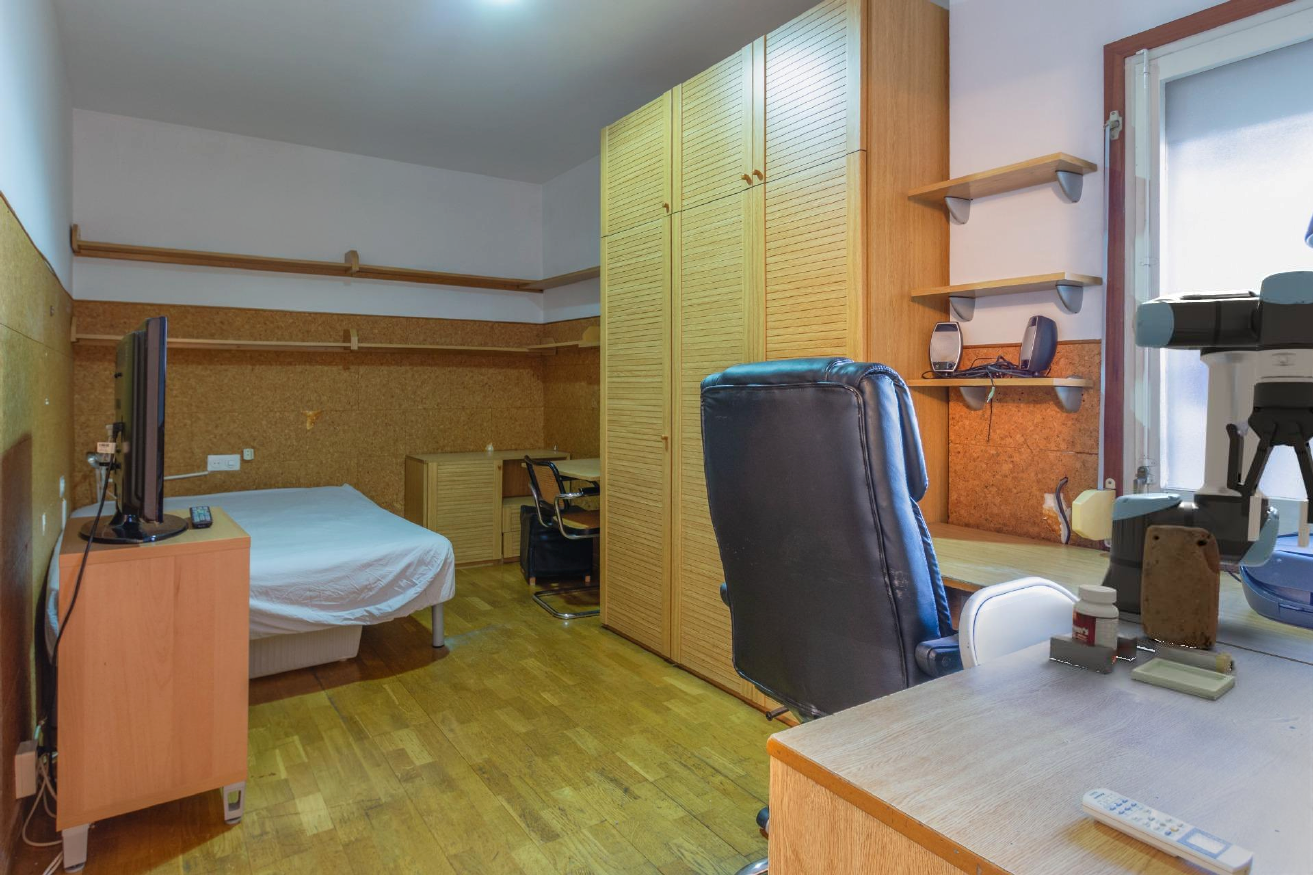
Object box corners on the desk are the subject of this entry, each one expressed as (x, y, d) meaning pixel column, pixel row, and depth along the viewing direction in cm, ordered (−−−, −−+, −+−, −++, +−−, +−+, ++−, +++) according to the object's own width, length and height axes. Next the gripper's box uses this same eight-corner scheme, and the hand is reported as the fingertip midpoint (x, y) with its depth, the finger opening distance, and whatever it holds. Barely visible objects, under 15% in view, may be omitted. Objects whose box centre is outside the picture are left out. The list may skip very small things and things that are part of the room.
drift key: (1161, 656, 120) (1162, 639, 120) (1229, 672, 113) (1231, 654, 113) (1154, 660, 118) (1154, 642, 118) (1223, 676, 111) (1224, 658, 111)
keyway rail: (1125, 643, 126) (1125, 635, 126) (1234, 669, 115) (1234, 659, 115) (1122, 645, 126) (1123, 636, 126) (1232, 670, 114) (1232, 661, 114)
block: (1134, 637, 130) (1141, 523, 130) (1149, 630, 135) (1155, 520, 134) (1209, 654, 122) (1217, 533, 121) (1222, 646, 127) (1229, 529, 126)
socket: (1082, 645, 125) (1083, 624, 125) (1136, 658, 119) (1137, 636, 119) (1049, 659, 117) (1050, 637, 117) (1105, 674, 111) (1106, 650, 111)
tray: (1155, 665, 116) (1155, 657, 115) (1234, 684, 108) (1235, 676, 108) (1131, 678, 109) (1131, 670, 109) (1214, 700, 101) (1214, 691, 101)
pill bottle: (1062, 652, 121) (1065, 583, 120) (1098, 652, 121) (1101, 583, 121) (1087, 665, 114) (1091, 592, 114) (1125, 665, 115) (1129, 592, 115)
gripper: (1204, 380, 111) (1195, 535, 112) (1369, 379, 98) (1357, 556, 98) (1219, 383, 116) (1210, 532, 117) (1378, 382, 102) (1367, 551, 103)
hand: (1277, 542), depth 108 cm, fingers open, 5 cm apart
